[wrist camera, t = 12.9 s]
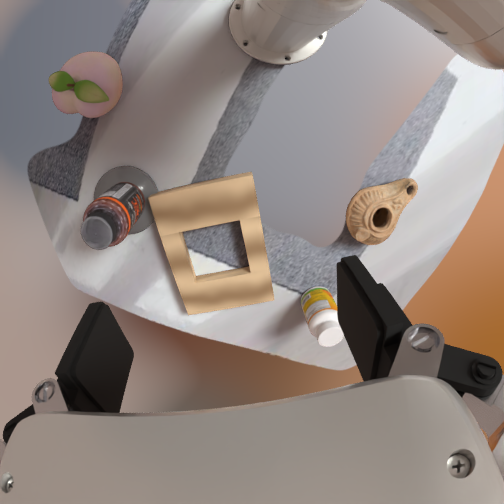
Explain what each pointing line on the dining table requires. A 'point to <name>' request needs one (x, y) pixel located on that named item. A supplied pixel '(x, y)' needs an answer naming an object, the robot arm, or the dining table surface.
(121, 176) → the slate coaster
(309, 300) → the supplement bottle
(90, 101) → the decorative fruit
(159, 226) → the holder board
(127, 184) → the supplement bottle
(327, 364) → the dining table surface
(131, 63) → the dining table surface
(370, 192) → the pottery oil lamp
